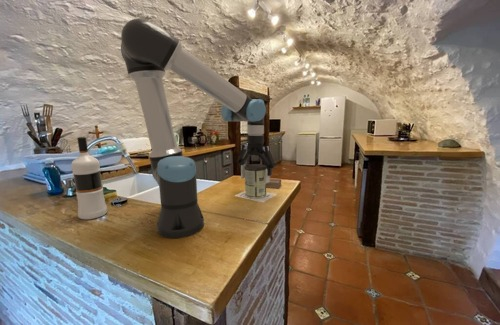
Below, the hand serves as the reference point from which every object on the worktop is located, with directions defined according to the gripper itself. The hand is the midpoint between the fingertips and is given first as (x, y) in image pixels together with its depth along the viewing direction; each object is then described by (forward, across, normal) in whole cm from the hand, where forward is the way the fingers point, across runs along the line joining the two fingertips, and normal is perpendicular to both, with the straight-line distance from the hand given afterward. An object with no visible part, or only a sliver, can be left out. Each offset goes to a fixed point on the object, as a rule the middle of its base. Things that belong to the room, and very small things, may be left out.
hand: (254, 180), depth 103 cm
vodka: (+9, +40, +52) cm, 66 cm away
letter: (+8, 0, 0) cm, 8 cm away
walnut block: (+8, 0, -17) cm, 19 cm away
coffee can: (+8, 0, 0) cm, 8 cm away
